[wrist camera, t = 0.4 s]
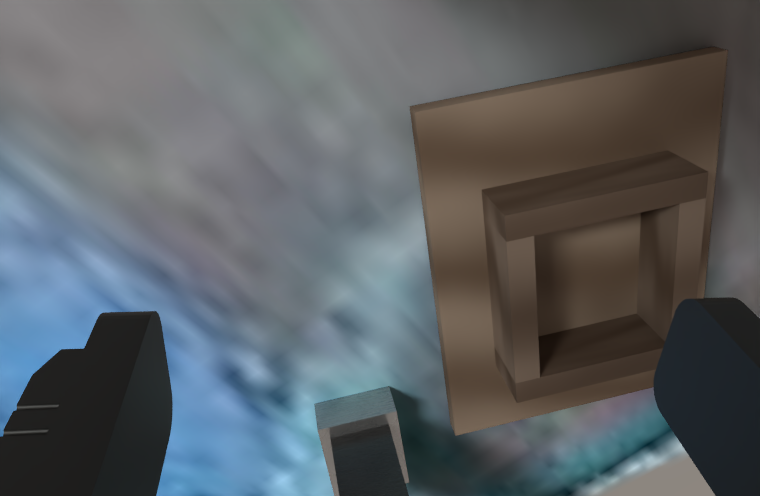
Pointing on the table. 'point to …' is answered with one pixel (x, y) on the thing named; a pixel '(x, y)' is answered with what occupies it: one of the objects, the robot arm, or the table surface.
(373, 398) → the tongs
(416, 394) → the table surface
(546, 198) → the stand
